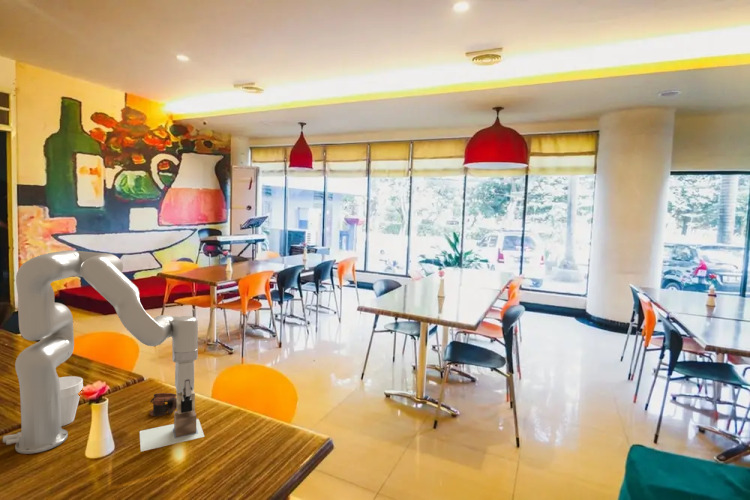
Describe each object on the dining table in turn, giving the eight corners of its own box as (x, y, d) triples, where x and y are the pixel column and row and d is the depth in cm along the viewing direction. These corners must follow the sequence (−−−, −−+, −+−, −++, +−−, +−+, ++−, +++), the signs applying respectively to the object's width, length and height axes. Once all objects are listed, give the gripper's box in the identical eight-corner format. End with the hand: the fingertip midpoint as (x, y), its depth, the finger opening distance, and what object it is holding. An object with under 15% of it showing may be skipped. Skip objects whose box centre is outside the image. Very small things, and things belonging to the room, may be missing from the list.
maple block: (178, 414, 130) (178, 396, 129) (176, 407, 134) (176, 390, 134) (194, 410, 133) (194, 393, 132) (192, 404, 137) (192, 387, 136)
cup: (58, 433, 130) (57, 392, 129) (28, 427, 133) (27, 387, 132) (92, 416, 142) (92, 378, 141) (64, 411, 145) (64, 374, 144)
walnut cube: (176, 437, 130) (176, 419, 129) (174, 428, 135) (174, 411, 134) (196, 432, 133) (196, 415, 133) (193, 424, 138) (193, 407, 138)
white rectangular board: (140, 454, 122) (140, 451, 122) (139, 433, 133) (139, 430, 133) (204, 438, 131) (204, 436, 131) (198, 420, 142) (198, 418, 142)
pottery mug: (141, 418, 143) (145, 393, 147) (162, 419, 151) (166, 395, 155) (166, 416, 140) (171, 391, 143) (187, 417, 148) (191, 393, 151)
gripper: (170, 348, 137) (170, 399, 139) (175, 365, 123) (175, 422, 124) (194, 345, 141) (194, 395, 143) (201, 361, 126) (201, 416, 128)
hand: (185, 407), depth 133 cm, fingers closed on maple block, 5 cm apart
